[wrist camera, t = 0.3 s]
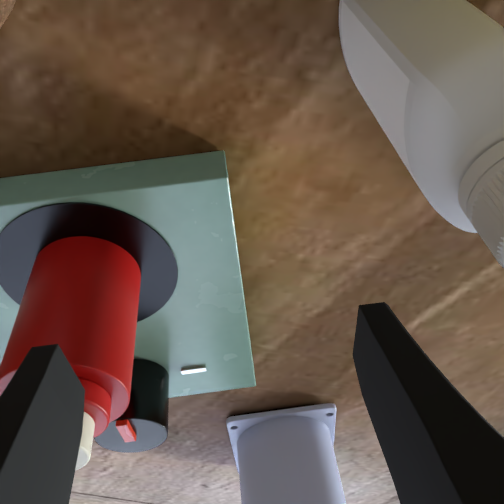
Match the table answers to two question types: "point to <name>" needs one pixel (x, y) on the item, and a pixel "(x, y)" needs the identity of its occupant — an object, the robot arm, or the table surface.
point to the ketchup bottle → (82, 324)
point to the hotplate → (186, 254)
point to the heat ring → (92, 225)
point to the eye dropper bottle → (436, 100)
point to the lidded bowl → (5, 10)
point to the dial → (141, 412)
